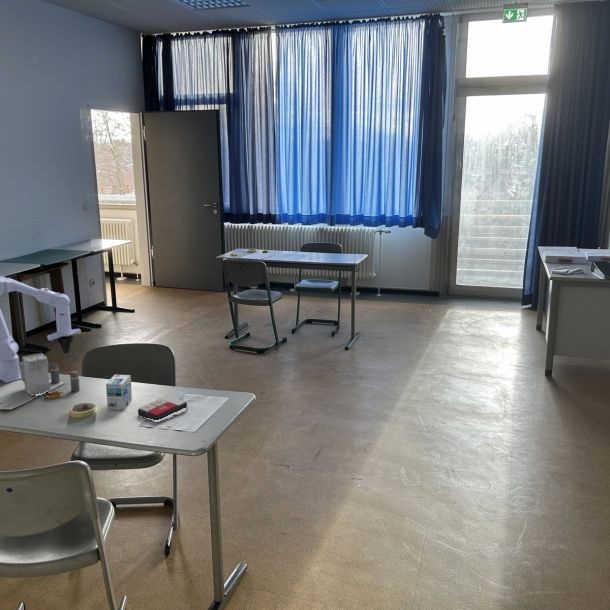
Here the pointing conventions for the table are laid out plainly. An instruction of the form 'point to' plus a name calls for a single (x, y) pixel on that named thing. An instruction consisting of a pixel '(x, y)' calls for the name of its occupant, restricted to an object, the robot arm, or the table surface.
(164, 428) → the table surface
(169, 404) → the red black flat box
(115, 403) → the light bulb box
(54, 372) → the left cable post
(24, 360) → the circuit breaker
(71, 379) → the post
